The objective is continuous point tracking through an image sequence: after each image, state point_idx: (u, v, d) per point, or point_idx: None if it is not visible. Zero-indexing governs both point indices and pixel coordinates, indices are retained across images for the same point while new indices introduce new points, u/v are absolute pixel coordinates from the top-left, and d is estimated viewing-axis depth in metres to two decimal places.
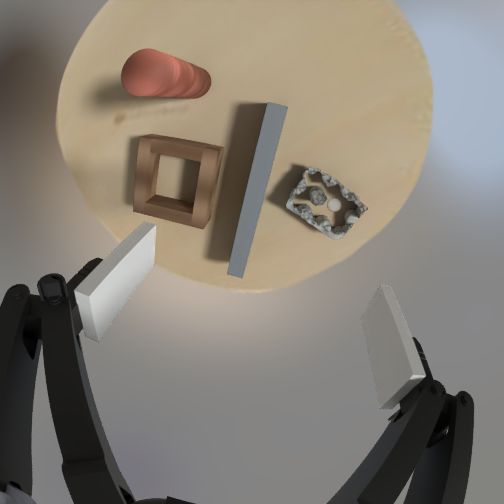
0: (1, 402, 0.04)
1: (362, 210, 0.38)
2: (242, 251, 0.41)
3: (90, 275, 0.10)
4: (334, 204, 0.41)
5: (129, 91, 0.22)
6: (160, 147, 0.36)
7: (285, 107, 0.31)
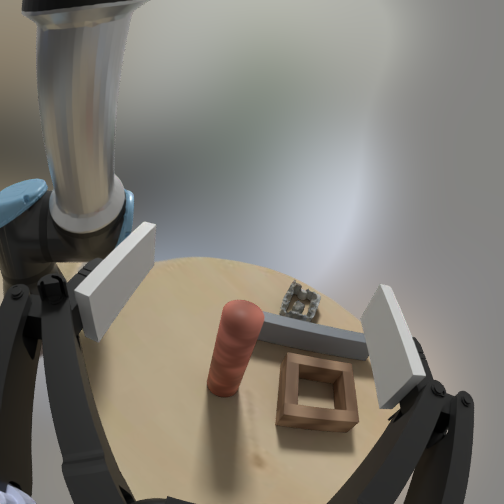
0: (1, 402, 0.04)
1: (296, 284, 0.63)
2: (355, 335, 0.49)
3: (90, 275, 0.10)
4: None
5: (260, 324, 0.31)
6: (291, 394, 0.37)
7: None
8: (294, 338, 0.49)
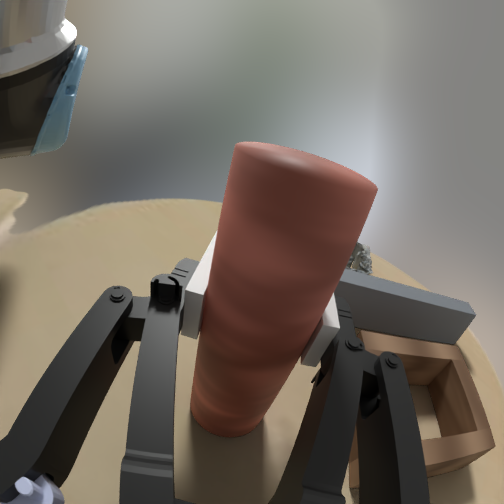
0: (67, 403, 0.05)
1: None
2: (448, 300, 0.26)
3: (195, 275, 0.12)
4: None
5: (372, 188, 0.08)
6: None
7: None
8: (360, 307, 0.26)
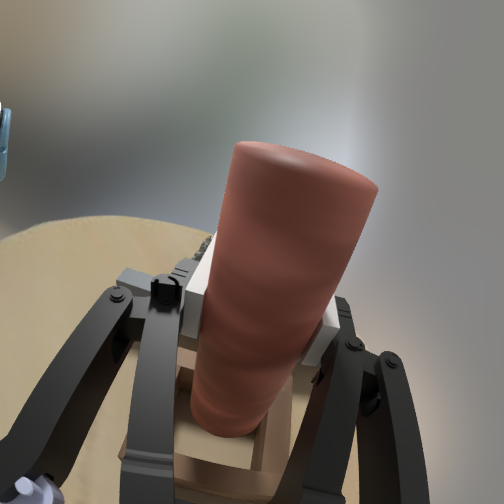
0: (67, 403, 0.05)
1: None
2: None
3: (195, 275, 0.12)
4: None
5: (373, 188, 0.08)
6: None
7: (126, 269, 0.30)
8: None
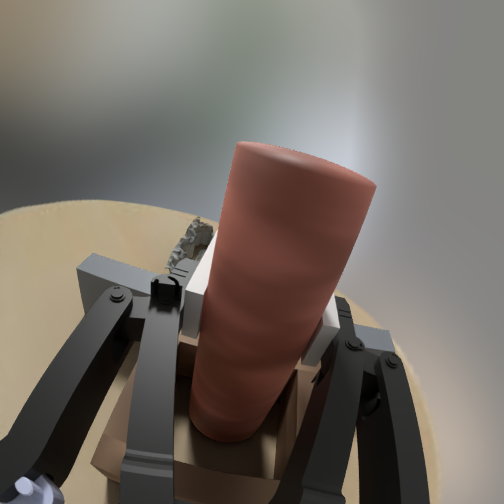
0: (67, 403, 0.05)
1: (202, 224, 0.34)
2: None
3: (195, 275, 0.12)
4: None
5: (371, 185, 0.08)
6: None
7: (92, 254, 0.21)
8: None
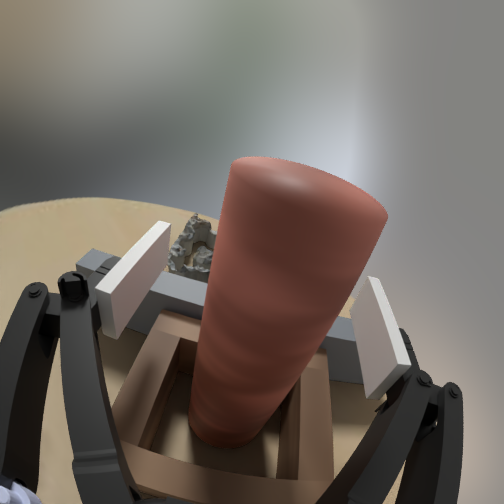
0: (12, 400, 0.05)
1: (200, 221, 0.34)
2: (346, 325, 0.20)
3: (110, 273, 0.10)
4: None
5: (382, 217, 0.07)
6: (129, 413, 0.11)
7: (92, 250, 0.20)
8: None
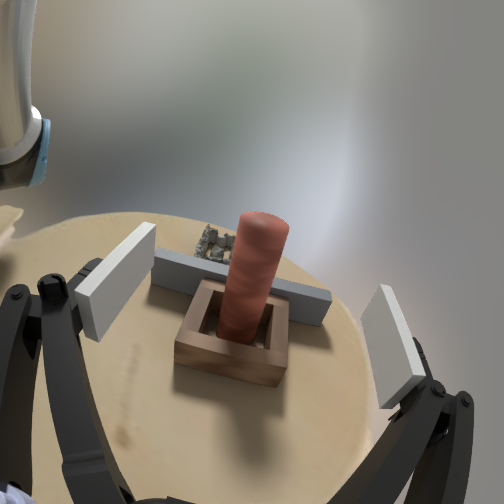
0: (1, 402, 0.04)
1: (211, 229, 0.53)
2: (300, 287, 0.39)
3: (90, 275, 0.10)
4: None
5: (285, 231, 0.27)
6: (193, 319, 0.30)
7: (158, 248, 0.40)
8: None
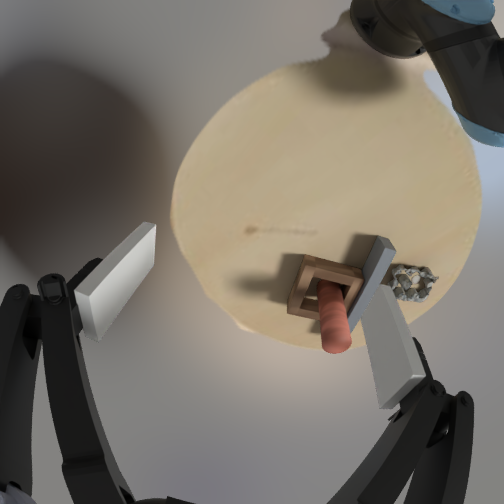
0: (1, 402, 0.04)
1: (435, 278, 0.49)
2: None
3: (90, 275, 0.10)
4: (416, 279, 0.53)
5: (326, 350, 0.44)
6: (322, 274, 0.50)
7: (395, 251, 0.45)
8: None
